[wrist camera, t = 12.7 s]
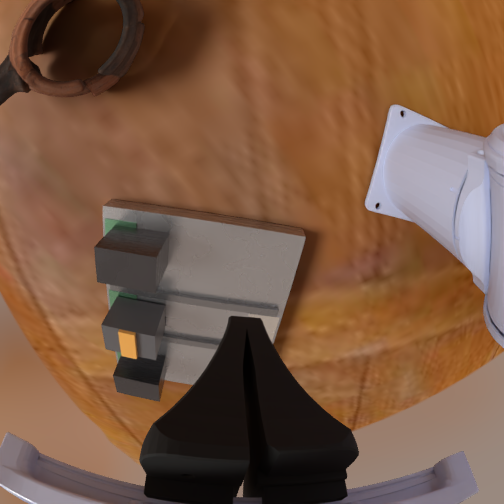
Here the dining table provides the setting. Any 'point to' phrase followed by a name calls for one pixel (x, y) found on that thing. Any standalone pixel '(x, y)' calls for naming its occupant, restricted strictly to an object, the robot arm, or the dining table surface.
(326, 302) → the dining table surface
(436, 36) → the dining table surface
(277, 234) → the panel
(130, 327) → the breaker
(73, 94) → the pottery mug
